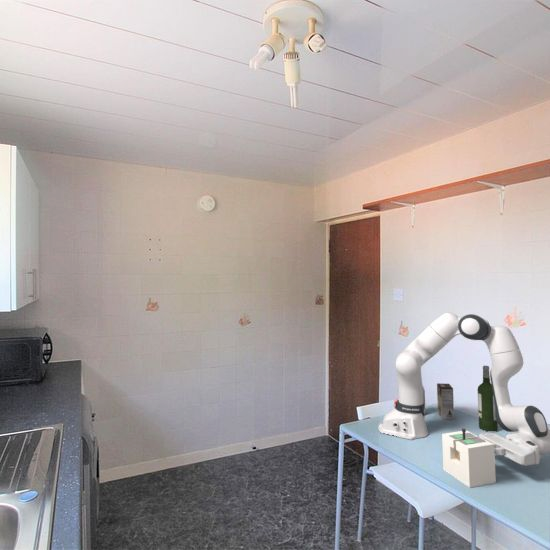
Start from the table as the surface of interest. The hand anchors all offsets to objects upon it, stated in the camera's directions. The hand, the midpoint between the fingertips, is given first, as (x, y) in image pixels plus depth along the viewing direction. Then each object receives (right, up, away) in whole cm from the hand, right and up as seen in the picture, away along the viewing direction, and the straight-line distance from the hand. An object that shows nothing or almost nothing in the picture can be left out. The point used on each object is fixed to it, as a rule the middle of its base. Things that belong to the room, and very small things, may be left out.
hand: (488, 450), depth 136 cm
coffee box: (+11, -10, +58) cm, 60 cm away
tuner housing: (-9, -8, -3) cm, 12 cm away
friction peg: (-6, -3, -2) cm, 7 cm away
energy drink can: (-1, -10, +61) cm, 62 cm away
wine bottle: (+23, -9, +40) cm, 47 cm away
